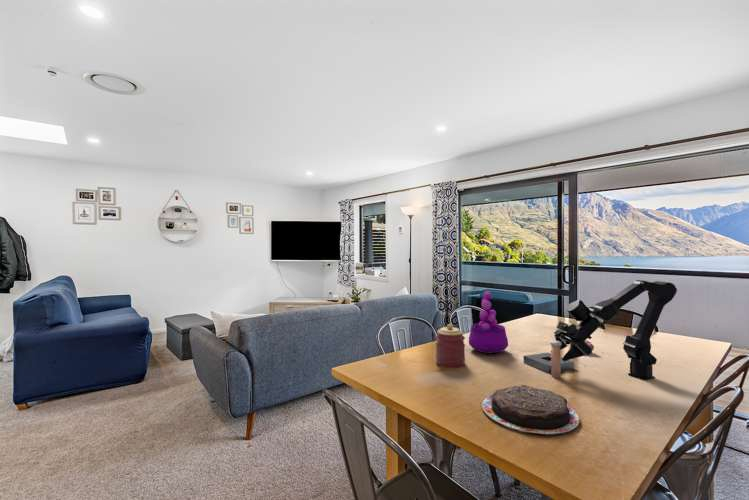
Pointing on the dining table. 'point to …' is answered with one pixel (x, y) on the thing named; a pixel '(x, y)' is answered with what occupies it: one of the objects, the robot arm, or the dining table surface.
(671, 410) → the dining table surface
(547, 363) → the dark grey square base
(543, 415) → the chocolate cake
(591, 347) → the mauve curved piece
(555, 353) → the pin
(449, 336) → the canister
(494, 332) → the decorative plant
